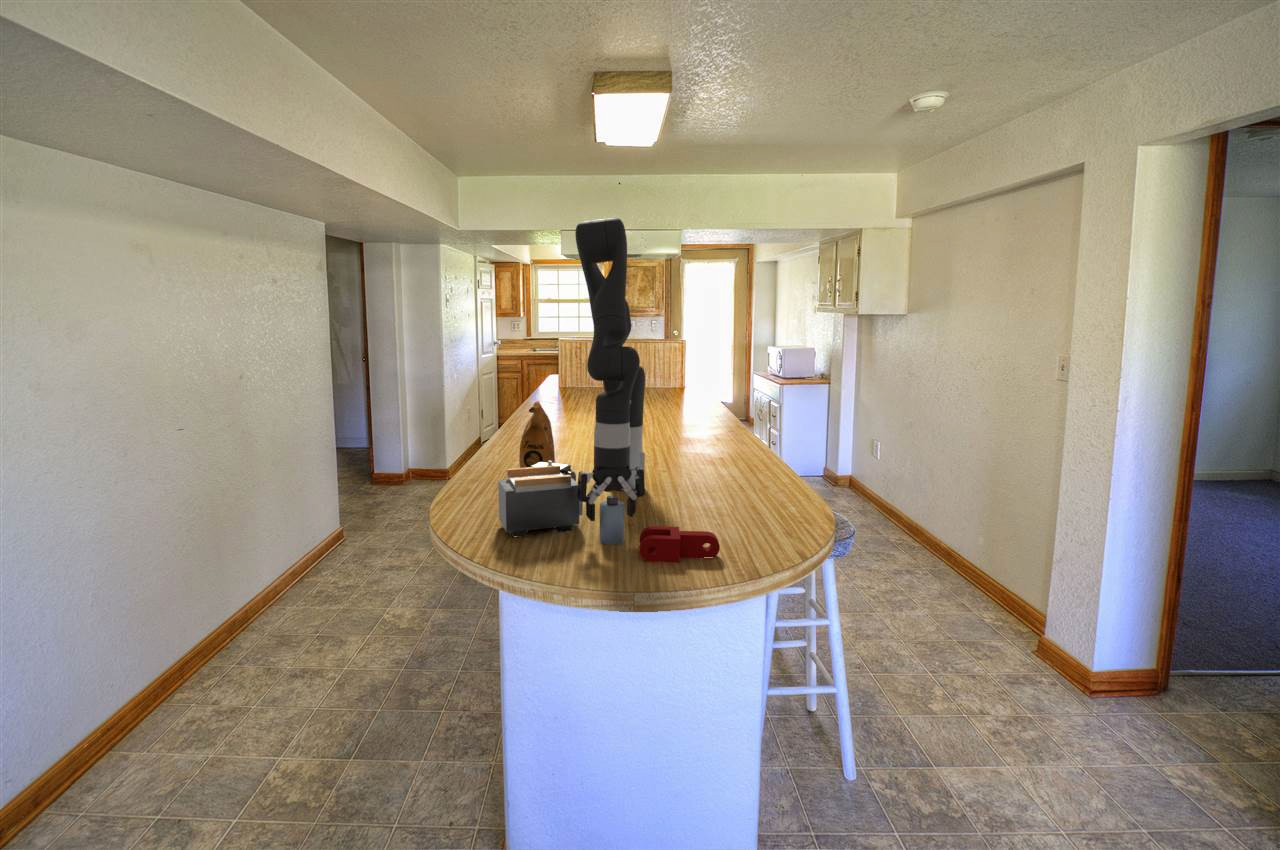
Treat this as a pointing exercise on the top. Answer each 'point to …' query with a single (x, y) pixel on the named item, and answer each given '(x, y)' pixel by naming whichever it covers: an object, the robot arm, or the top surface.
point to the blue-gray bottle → (612, 521)
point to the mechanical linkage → (675, 544)
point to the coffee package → (537, 439)
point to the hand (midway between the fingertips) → (610, 518)
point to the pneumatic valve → (563, 468)
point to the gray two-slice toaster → (538, 500)
